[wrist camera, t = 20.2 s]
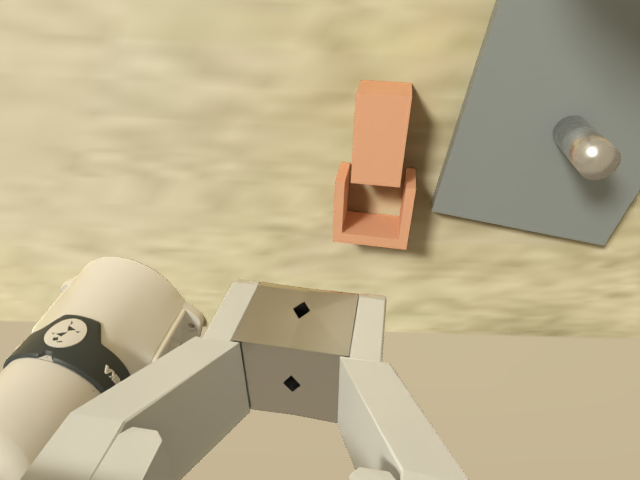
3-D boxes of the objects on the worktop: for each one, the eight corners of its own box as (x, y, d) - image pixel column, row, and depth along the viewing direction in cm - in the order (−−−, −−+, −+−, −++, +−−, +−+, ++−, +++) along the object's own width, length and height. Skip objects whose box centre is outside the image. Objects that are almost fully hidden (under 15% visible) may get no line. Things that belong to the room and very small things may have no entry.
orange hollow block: (406, 226, 40) (406, 249, 37) (338, 218, 41) (332, 241, 38) (428, 83, 33) (430, 98, 30) (345, 79, 34) (338, 92, 31)
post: (569, 152, 33) (597, 186, 28) (545, 135, 32) (569, 167, 27) (700, 24, 27) (766, 38, 22) (673, 2, 26) (733, 12, 22)
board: (597, 236, 38) (604, 245, 36) (430, 203, 39) (431, 211, 37) (784, -65, 25) (803, -67, 24) (528, -102, 26) (534, -105, 25)
